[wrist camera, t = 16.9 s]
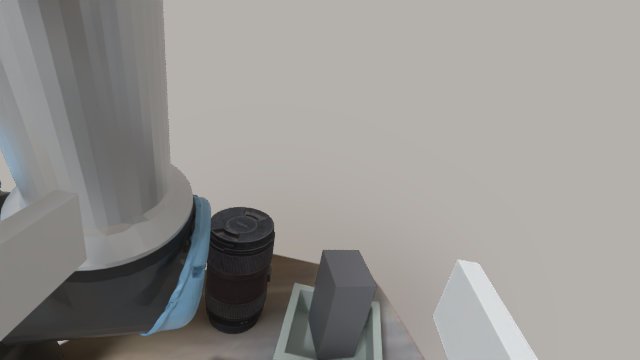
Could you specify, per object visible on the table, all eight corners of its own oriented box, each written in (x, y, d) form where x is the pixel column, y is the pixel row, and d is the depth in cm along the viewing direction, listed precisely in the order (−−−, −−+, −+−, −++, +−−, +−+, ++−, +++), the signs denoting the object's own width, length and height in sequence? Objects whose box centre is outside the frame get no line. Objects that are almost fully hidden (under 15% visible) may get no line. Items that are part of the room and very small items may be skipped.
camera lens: (225, 285, 51) (232, 198, 45) (273, 305, 49) (287, 218, 43) (189, 323, 44) (191, 226, 38) (243, 348, 42) (255, 251, 36)
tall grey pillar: (313, 373, 39) (336, 287, 34) (304, 330, 45) (323, 250, 39) (349, 370, 41) (376, 286, 35) (336, 329, 46) (358, 250, 40)
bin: (267, 388, 38) (273, 358, 36) (289, 309, 49) (294, 282, 47) (372, 413, 37) (383, 384, 35) (370, 328, 48) (379, 302, 46)
